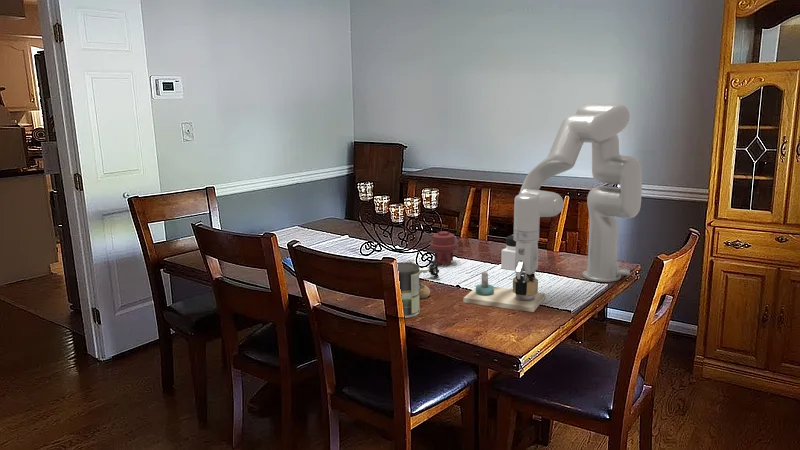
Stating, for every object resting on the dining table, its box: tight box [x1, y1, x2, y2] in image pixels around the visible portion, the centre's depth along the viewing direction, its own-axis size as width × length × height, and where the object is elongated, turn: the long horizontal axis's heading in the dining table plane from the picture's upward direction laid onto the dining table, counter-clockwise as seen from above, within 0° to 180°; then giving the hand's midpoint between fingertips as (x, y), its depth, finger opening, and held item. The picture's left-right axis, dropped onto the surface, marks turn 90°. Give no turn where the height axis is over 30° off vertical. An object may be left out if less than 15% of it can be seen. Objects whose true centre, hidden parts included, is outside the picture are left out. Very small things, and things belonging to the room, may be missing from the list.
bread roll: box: [419, 282, 431, 299], centre depth 201 cm, size 11×11×5 cm
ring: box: [512, 275, 539, 296], centre depth 189 cm, size 7×7×4 cm
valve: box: [407, 260, 440, 279], centre depth 216 cm, size 7×7×12 cm
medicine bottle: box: [500, 234, 516, 272], centre depth 227 cm, size 7×7×12 cm
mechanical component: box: [429, 230, 458, 267], centre depth 234 cm, size 12×10×10 cm
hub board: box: [462, 271, 546, 313], centre depth 192 cm, size 22×14×8 cm, turn 63°
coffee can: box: [396, 261, 421, 319], centre depth 183 cm, size 10×10×14 cm
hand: (525, 290), depth 189 cm, fingers open, 8 cm apart
